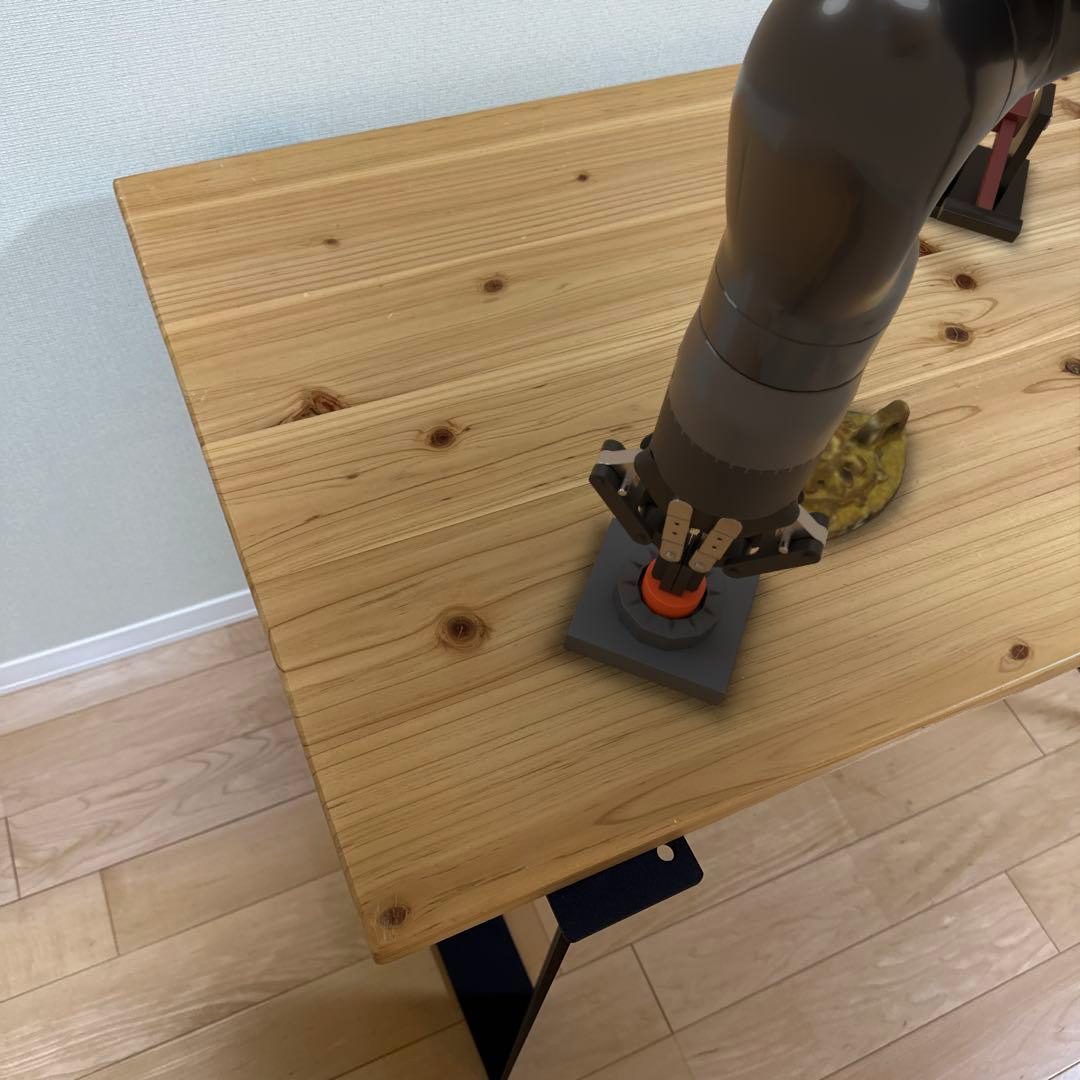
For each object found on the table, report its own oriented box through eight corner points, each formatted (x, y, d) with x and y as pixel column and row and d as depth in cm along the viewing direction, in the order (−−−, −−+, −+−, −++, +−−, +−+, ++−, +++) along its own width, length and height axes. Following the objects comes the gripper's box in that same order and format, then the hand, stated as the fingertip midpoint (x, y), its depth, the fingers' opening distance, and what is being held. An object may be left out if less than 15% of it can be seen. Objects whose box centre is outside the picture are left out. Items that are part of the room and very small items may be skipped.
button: (706, 579, 60) (713, 565, 58) (690, 628, 58) (696, 615, 57) (650, 558, 60) (656, 544, 59) (633, 607, 58) (638, 594, 57)
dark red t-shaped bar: (1009, 248, 76) (1023, 229, 74) (933, 224, 77) (945, 205, 74) (1044, 118, 80) (1059, 97, 77) (972, 97, 80) (985, 75, 78)
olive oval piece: (782, 583, 65) (932, 478, 70) (809, 555, 61) (967, 446, 66) (695, 477, 68) (846, 384, 73) (715, 443, 63) (874, 346, 68)
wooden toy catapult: (1010, 244, 82) (1074, 145, 74) (906, 211, 83) (958, 110, 75) (1022, 172, 87) (1084, 71, 79) (924, 142, 88) (974, 39, 80)
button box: (752, 586, 64) (770, 556, 60) (716, 707, 59) (733, 682, 56) (608, 533, 65) (617, 501, 61) (562, 649, 60) (569, 621, 57)
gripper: (584, 408, 42) (547, 593, 56) (887, 514, 40) (766, 675, 55) (637, 290, 45) (589, 493, 60) (916, 383, 44) (795, 567, 59)
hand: (674, 580), depth 58 cm, fingers closed
